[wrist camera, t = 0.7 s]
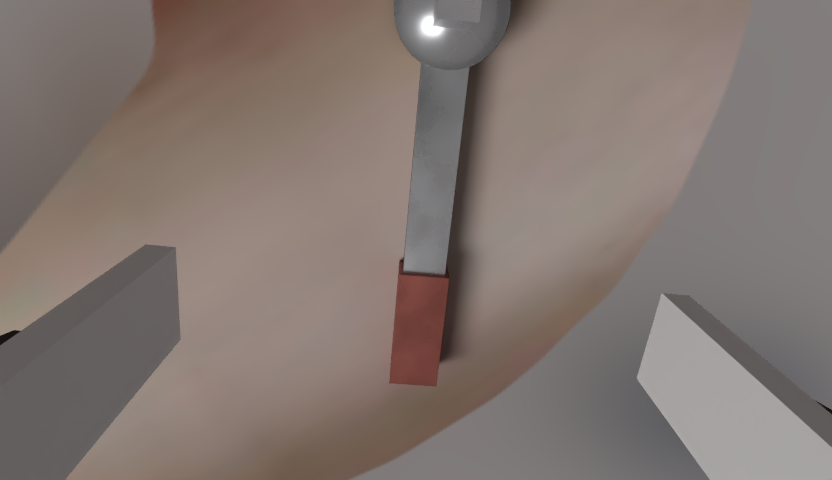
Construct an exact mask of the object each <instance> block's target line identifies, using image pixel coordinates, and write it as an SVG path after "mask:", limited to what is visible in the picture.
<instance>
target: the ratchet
mask: <svg viewBox="0 0 832 480" xmlns="http://www.w3.org/2000/svg"><path fill="white" fill-rule="evenodd" d="M510 10H511V0H394V17H395V22H396V27H397V30H398V33H399V36H400V38H401V40H402V42H403V44H404V46H405V47H406V49H407V50H408V51H409V52H410V54H411V55H412V56H413V57H415V58H416V59H417V60H418V61H420V62H421V70H420V82H419V93H418V104H417V115H416V126H415V138H414V149H413V160H412V171H411V183H410V194H409V205H408V216H407V228H406V239H405V250H404V261H400V262H399V274H398V285H397V297H396V308H395V320H394V332H393V343H392V355H391V368H390V383H395V384H410V385H424V386H436V385H437V376H438V368H439V360H440V352H441V343H442V335H443V327H444V319H445V310H446V302H447V294H448V286H449V274H448V269H447V264H446V261H447V253H448V245H449V236H450V228H451V219H452V211H453V202H454V194H455V185H456V177H457V168H458V160H459V151H460V143H461V134H462V126H463V117H464V109H465V100H466V92H467V83H468V75H469V67H470V66H473V65H475V64H477V63H479V62H480V61H482V60H483V59H485V58H486V57H487V56H488V55H490V54H491V53H492V52H493V51H494V49H495V48H496V47H497V46H498V44H499V43H500V41H501V39H502V38H503V36H504V33H505V31H506V29H507V26H508V23H509V17H510Z"/></svg>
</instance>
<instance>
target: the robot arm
mask: <svg viewBox="0 0 832 480" xmlns="http://www.w3.org/2000/svg"><path fill="white" fill-rule="evenodd" d="M179 340H180V322H179V303H178V284H177V265H176V247H167V246H156V245H144V246H143V247H141V248H140V249H139V250H137V251H136V252H134V253H133V254H131V255H130V256H129V257H127V258H126V259H124V260H123V261H121V262H120V263H118V264H117V265H116V266H114V267H113V268H111V269H110V270H108V271H107V272H105V273H104V274H103V275H101V276H100V277H98V278H97V279H95V280H94V281H92V282H91V283H90V284H88V285H87V286H85V287H84V288H82V289H81V290H79V291H78V292H77V293H75V294H74V295H72V296H71V297H69V298H68V299H66V300H65V301H64V302H62V303H61V304H59V305H58V306H56V307H55V308H54V309H52V310H51V311H49V312H48V313H46V314H45V315H43V316H42V317H41V318H39V319H38V320H36V321H35V322H33V323H32V324H30V325H29V326H28V327H26V328H25V329H23V330H22V331H16V330H13V331H11V332H9V333H6V334H4V335H1V336H0V480H65V479H66V478H67V477H68V475H69V474H70V473H71V472H72V470H73V469H74V468H75V467H76V466H77V464H78V463H79V462H80V461H81V460H82V458H83V457H84V456H85V455H86V453H87V452H88V451H89V450H90V449H91V447H92V446H93V445H94V444H95V443H96V441H97V440H98V439H99V438H100V436H101V435H102V434H103V433H104V432H105V430H106V429H107V428H108V427H109V426H110V424H111V423H112V422H113V421H114V419H115V418H116V417H117V416H118V415H119V413H120V412H121V411H122V410H123V409H124V407H125V406H126V405H127V404H128V402H129V401H130V400H131V399H132V398H133V396H134V395H135V394H136V393H137V391H138V390H139V389H140V388H141V387H142V385H143V384H144V383H145V382H146V381H147V379H148V378H149V377H150V376H151V374H152V373H153V372H154V371H155V370H156V368H157V367H158V366H159V365H160V364H161V362H162V361H163V360H164V359H165V357H166V356H167V355H168V354H169V353H170V351H171V350H172V349H173V348H174V347H175V345H176V344H177V343H178V342H179ZM637 379H638V381H639V382H640V384H641V385H642V386H643V388H644V389H645V390H646V392H647V393H648V394H649V396H650V397H651V398H652V400H653V401H654V403H655V404H656V406H657V407H658V408H659V410H660V411H661V413H662V414H663V415H664V417H665V418H666V419H667V421H668V422H669V423H670V425H671V426H672V428H673V429H674V430H675V432H676V433H677V435H678V436H679V437H680V439H681V440H682V442H683V443H684V444H685V446H686V447H687V449H688V450H689V451H690V453H691V454H692V455H693V457H694V458H695V460H696V461H697V462H698V464H699V465H700V466H701V468H702V469H703V471H704V472H705V473H706V475H707V476H708V478H709V479H710V480H832V410H831V409H829V408H827V407H826V406H824V405H822V404H820V403H819V402H817V401H815V400H814V399H813V398H811V397H810V396H809V395H808V394H807V393H805V392H804V391H803V390H802V389H800V388H799V387H798V386H797V385H796V384H795V383H793V382H792V381H791V380H790V379H789V378H787V377H786V376H785V375H784V374H782V373H781V372H780V371H779V370H778V369H777V368H775V367H774V366H773V365H772V364H770V363H769V362H768V361H767V360H766V359H764V358H763V357H762V356H761V355H760V354H758V353H757V352H756V351H755V350H754V349H752V348H751V347H750V346H749V345H748V344H746V343H745V342H744V341H743V340H741V339H740V338H739V337H738V336H737V335H736V334H734V333H733V332H732V331H730V329H728V328H727V327H726V326H725V325H724V324H722V323H721V322H720V321H719V320H717V319H716V318H715V317H714V316H713V315H712V314H710V313H709V312H708V311H707V310H706V309H704V308H703V307H702V306H701V305H699V304H698V303H697V302H696V301H695V300H693V299H692V298H691V297H690V296H687V295H676V294H665V293H662V295H661V298H660V301H659V305H658V308H657V312H656V315H655V318H654V322H653V325H652V328H651V332H650V335H649V339H648V342H647V345H646V349H645V353H644V356H643V359H642V363H641V366H640V369H639V373H638V376H637Z"/></svg>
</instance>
